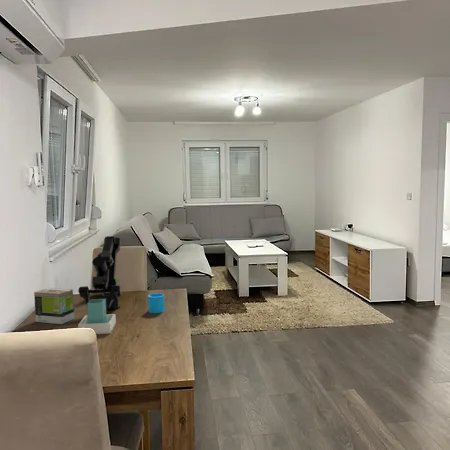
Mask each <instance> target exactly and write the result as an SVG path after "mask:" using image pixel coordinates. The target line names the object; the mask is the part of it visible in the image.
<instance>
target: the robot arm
mask: <svg viewBox="0 0 450 450" xmlns="http://www.w3.org/2000/svg"><path fill="white" fill-rule="evenodd" d="M103 239H104V240H103V244H104V246H103V245H102V249H103V250H102V249H101V250H102V251H101V252H99V253H98V254H97V256H96V257H94V258H93V260H92V265H93V268H94V271H95V272H96V273H95V276H92V281H91V282H92V285H93V286H92V288H89V286H80V287H79V288H78V290H77V291H78V295H79V296H80V298H82V299H85V300H84V301H85V303H86V305H87V303H88V302H89V301H90V300H91V297H90V295H91V294H100V295H101V294H102V295H101V299H106V311H113V310H117V309H119V308H121V306H119V299H118V298H120V297H121V296H122V288H121V286H120V285H118V282H116V280H115V276H116V270H117V269H116V267H117V254H118V253H119V252H120V251H121V246H122V243H123V242H122V239H121V238H120V237H116V236H113V235H108V236H104V238H103Z"/></svg>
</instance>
